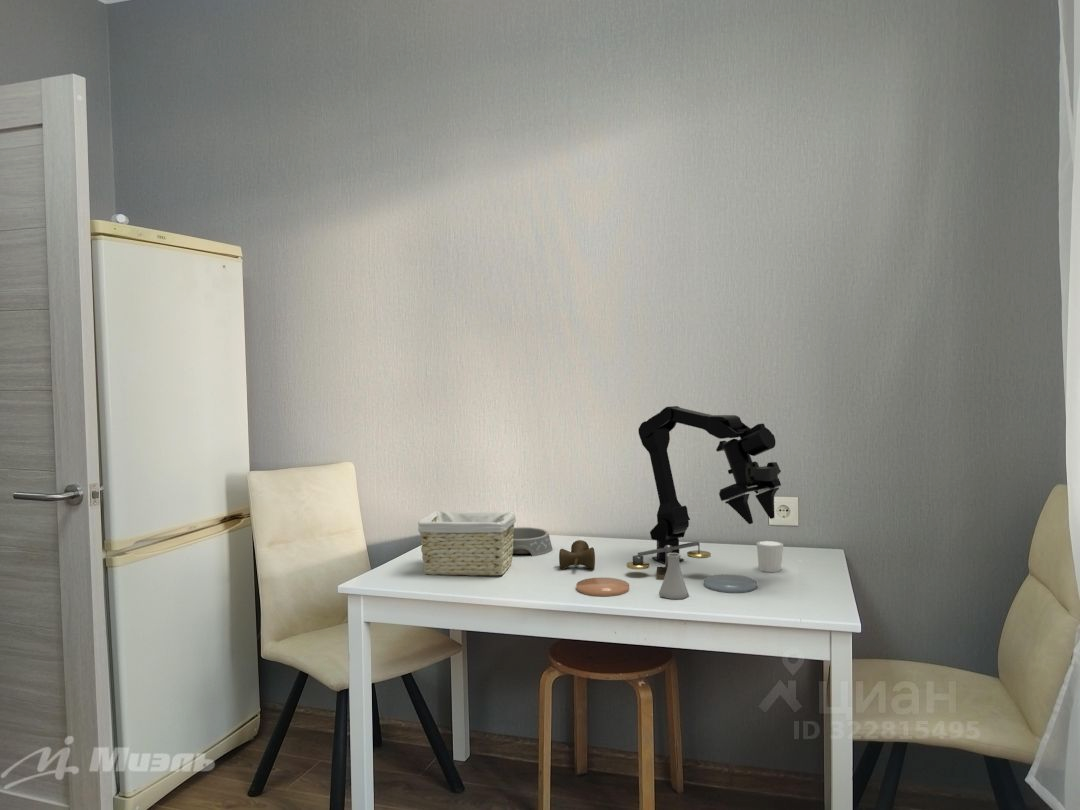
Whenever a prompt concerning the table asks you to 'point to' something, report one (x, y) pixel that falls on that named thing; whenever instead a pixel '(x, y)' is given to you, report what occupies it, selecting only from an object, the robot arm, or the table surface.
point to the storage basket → (467, 542)
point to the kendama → (577, 555)
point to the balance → (661, 571)
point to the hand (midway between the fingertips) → (762, 521)
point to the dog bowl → (531, 541)
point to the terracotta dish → (602, 586)
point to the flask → (673, 580)
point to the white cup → (769, 555)
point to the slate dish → (730, 583)
